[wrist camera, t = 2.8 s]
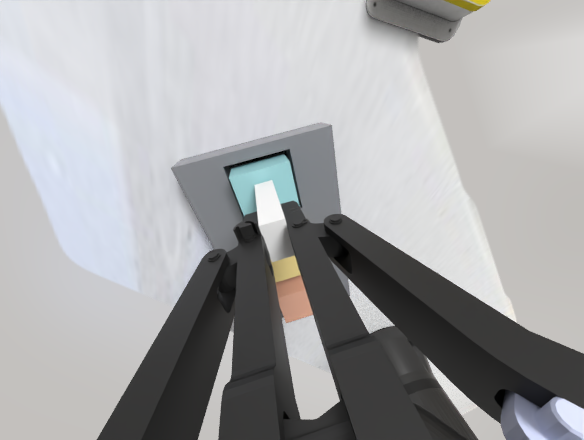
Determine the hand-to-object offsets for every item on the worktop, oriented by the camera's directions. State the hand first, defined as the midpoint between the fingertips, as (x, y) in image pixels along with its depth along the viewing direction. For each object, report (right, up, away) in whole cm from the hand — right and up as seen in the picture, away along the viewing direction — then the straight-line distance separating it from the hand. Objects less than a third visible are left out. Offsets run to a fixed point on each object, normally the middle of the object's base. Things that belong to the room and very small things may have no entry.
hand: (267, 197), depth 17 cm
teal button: (-1, +2, +3) cm, 3 cm away
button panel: (+1, -4, +9) cm, 9 cm away
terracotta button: (+3, -11, +11) cm, 16 cm away
